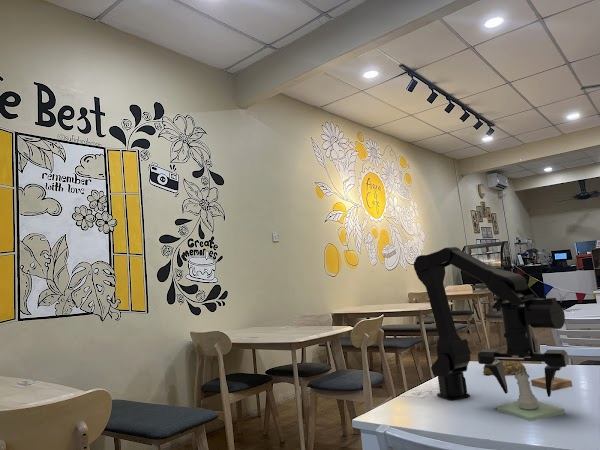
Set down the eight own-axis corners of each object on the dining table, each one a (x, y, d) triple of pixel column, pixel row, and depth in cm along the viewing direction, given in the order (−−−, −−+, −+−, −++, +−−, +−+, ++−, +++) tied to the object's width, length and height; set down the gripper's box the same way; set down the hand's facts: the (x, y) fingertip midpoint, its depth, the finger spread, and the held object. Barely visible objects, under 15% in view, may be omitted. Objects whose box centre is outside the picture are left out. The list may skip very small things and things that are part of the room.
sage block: (530, 427, 96) (529, 417, 97) (498, 415, 106) (496, 406, 106) (565, 418, 99) (564, 408, 100) (530, 407, 109) (529, 398, 109)
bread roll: (520, 367, 148) (518, 352, 148) (530, 376, 136) (527, 359, 136) (480, 369, 150) (478, 354, 151) (486, 378, 139) (483, 361, 139)
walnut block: (552, 392, 118) (551, 384, 118) (532, 387, 124) (530, 379, 125) (572, 387, 120) (571, 380, 120) (551, 383, 126) (550, 375, 127)
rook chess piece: (542, 408, 100) (534, 373, 101) (522, 411, 101) (514, 376, 102) (535, 402, 105) (527, 368, 105) (516, 405, 105) (508, 371, 106)
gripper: (566, 321, 106) (577, 388, 104) (486, 323, 117) (495, 383, 115) (558, 328, 97) (571, 402, 95) (473, 329, 108) (482, 394, 106)
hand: (527, 394), depth 103 cm, fingers open, 9 cm apart
